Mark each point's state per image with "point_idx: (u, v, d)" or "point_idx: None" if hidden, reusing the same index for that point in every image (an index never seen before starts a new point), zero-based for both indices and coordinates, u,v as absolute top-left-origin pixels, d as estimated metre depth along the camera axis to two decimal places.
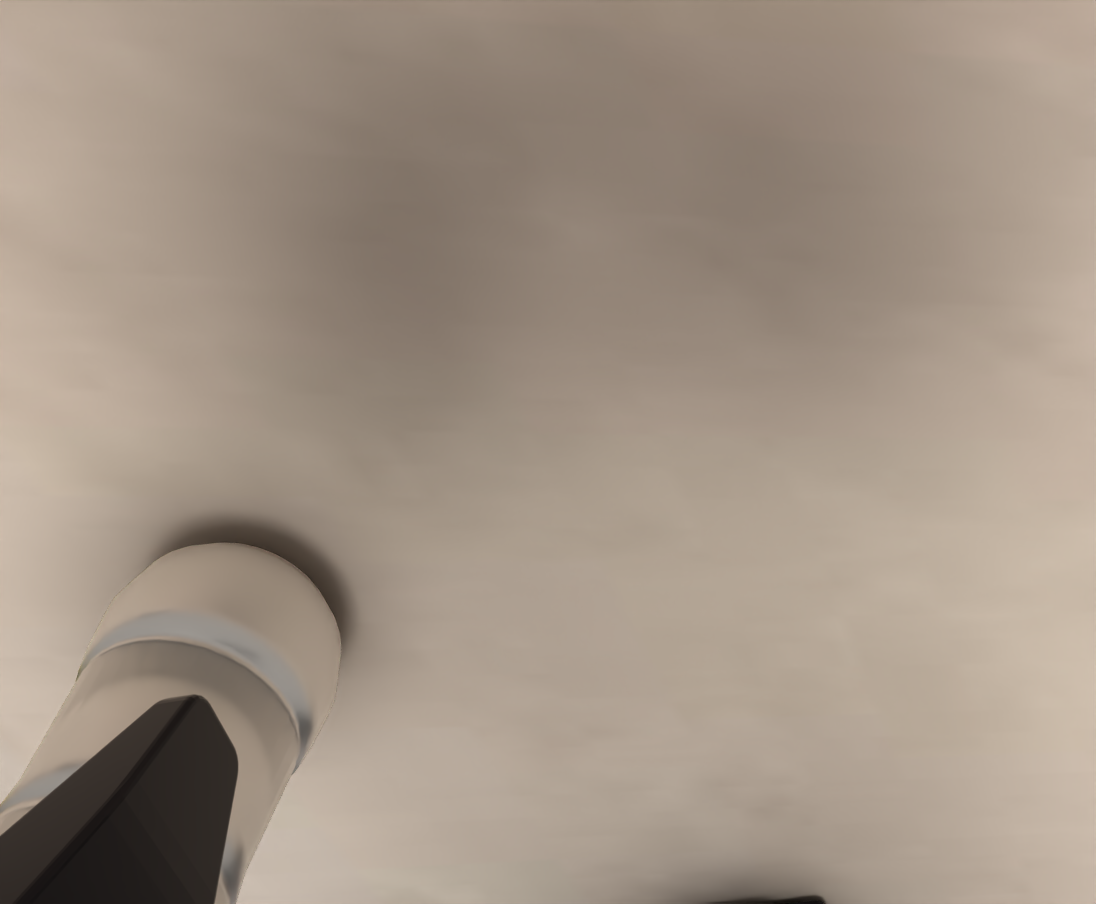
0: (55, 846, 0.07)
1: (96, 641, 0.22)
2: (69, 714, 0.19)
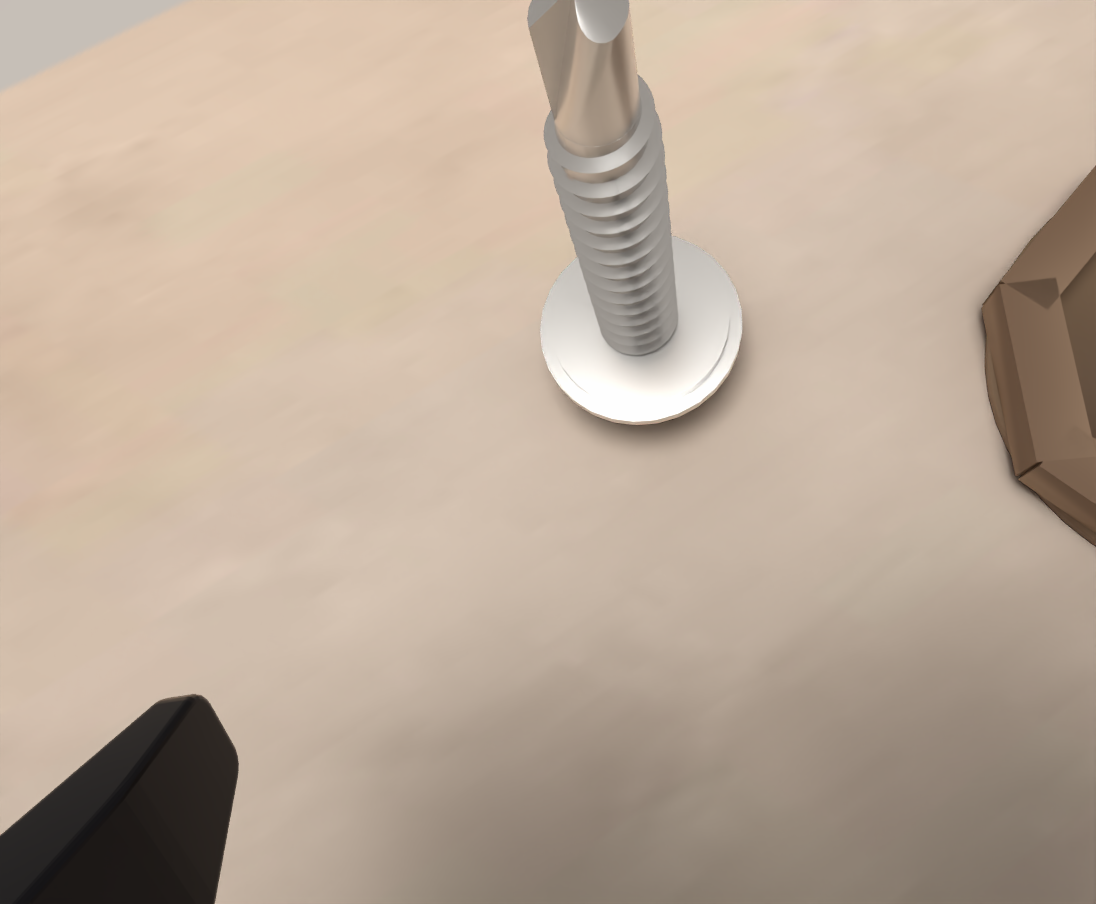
0: (56, 846, 0.07)
1: None
2: None
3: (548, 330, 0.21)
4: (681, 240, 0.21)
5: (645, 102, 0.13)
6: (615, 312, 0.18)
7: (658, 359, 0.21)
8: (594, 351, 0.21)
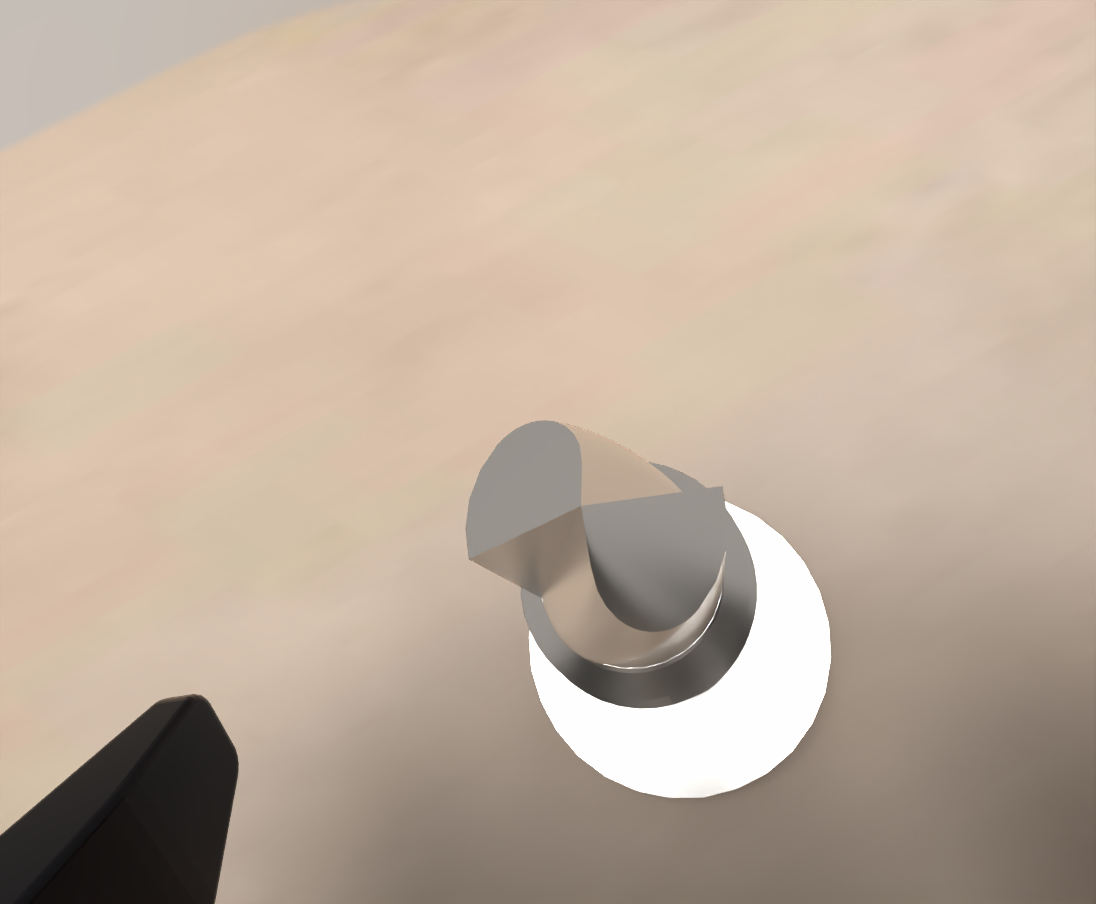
0: (56, 846, 0.07)
1: None
2: None
3: None
4: (735, 508, 0.15)
5: (731, 563, 0.06)
6: None
7: (705, 705, 0.14)
8: None
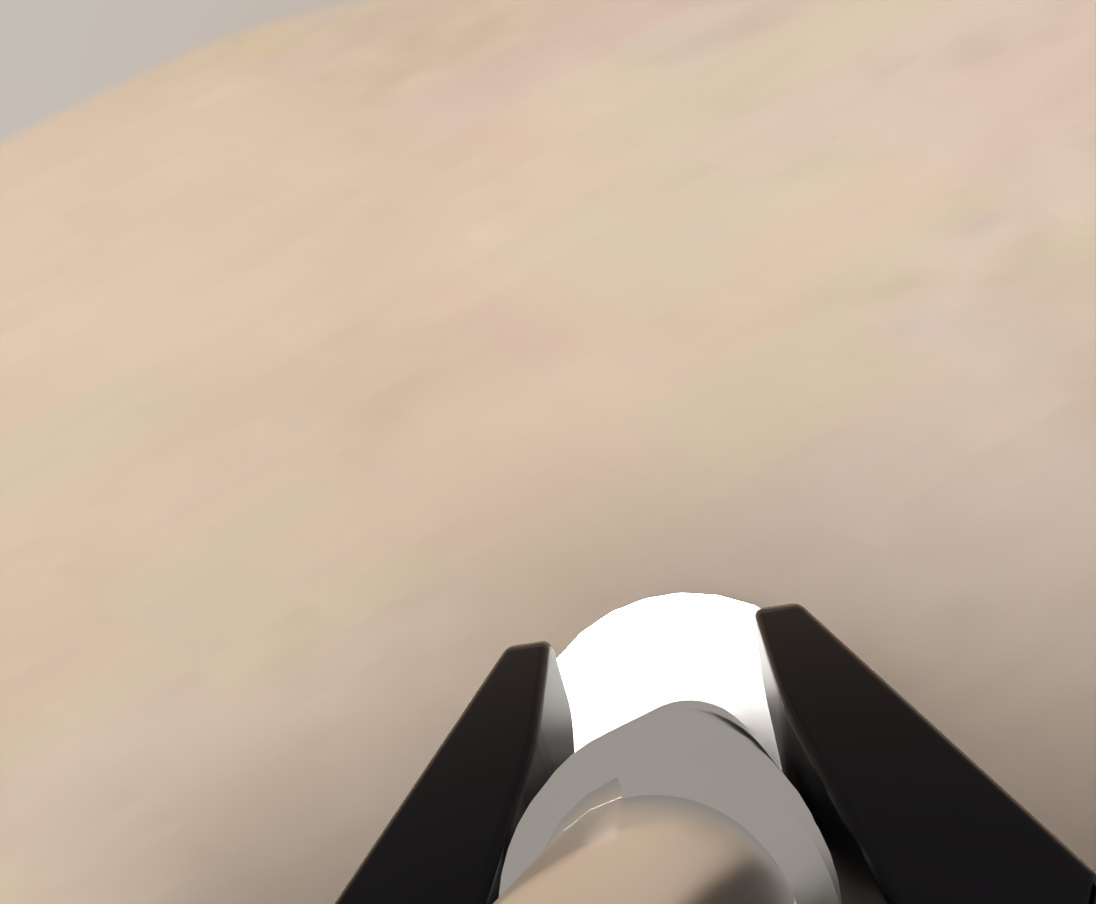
0: (497, 789, 0.06)
1: None
2: None
3: None
4: None
5: None
6: None
7: None
8: None
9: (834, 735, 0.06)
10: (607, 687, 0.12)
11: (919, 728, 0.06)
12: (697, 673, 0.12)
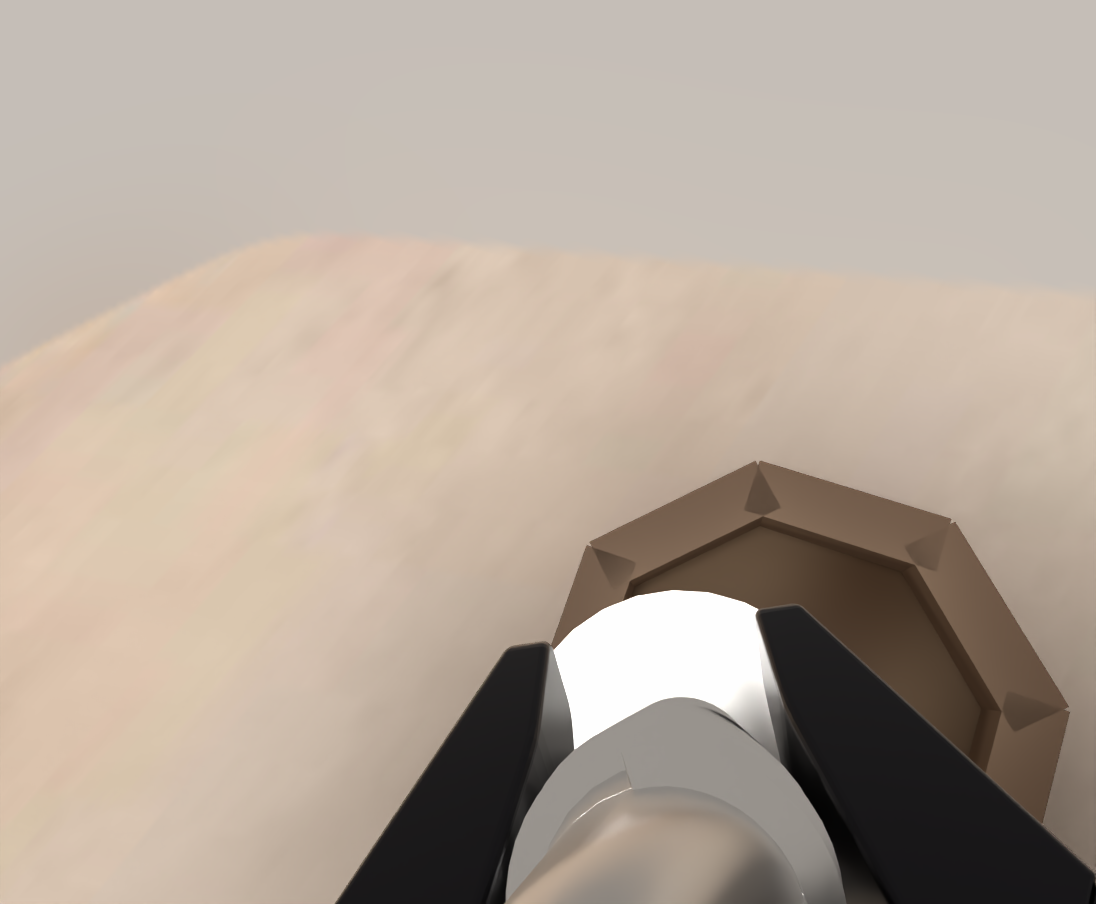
0: (497, 789, 0.06)
1: None
2: None
3: None
4: (753, 610, 0.13)
5: None
6: None
7: None
8: None
9: (834, 735, 0.06)
10: (599, 684, 0.12)
11: (920, 728, 0.06)
12: (689, 670, 0.12)
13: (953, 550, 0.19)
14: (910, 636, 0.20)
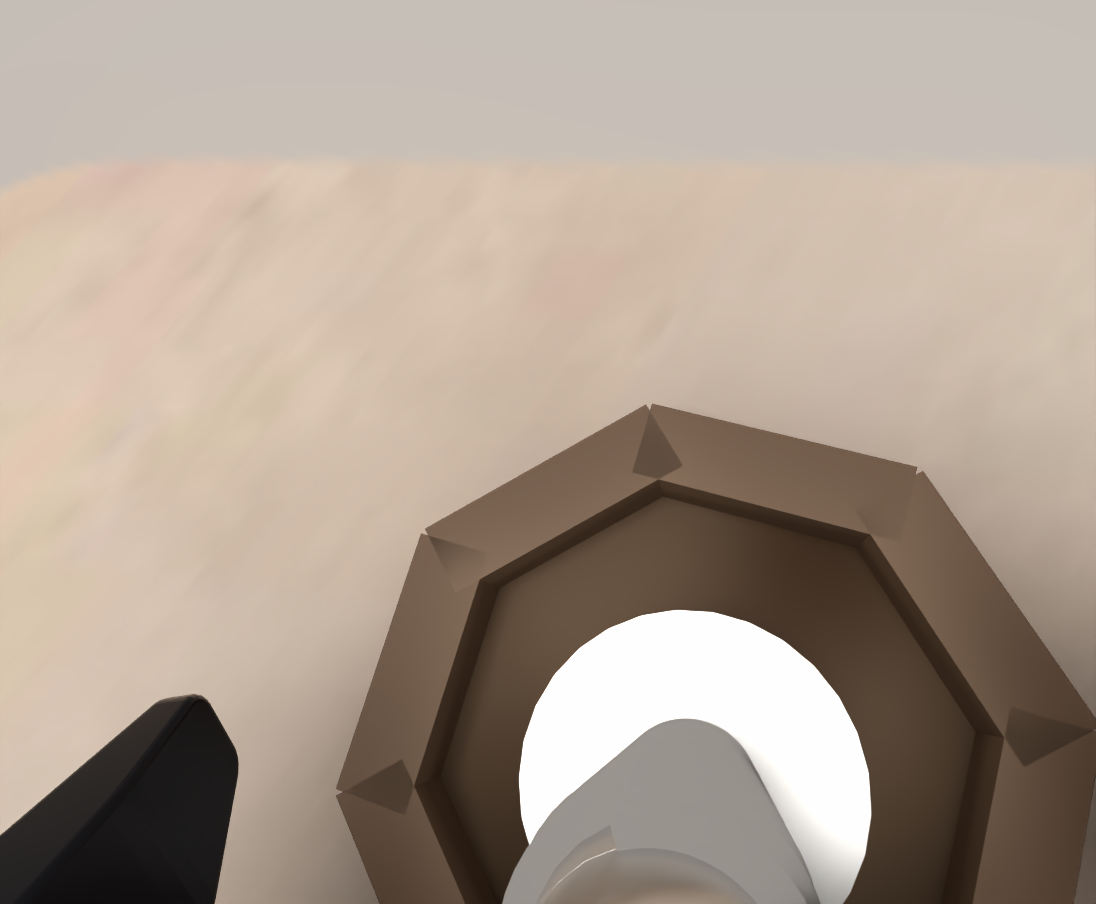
0: (55, 846, 0.07)
1: None
2: None
3: (533, 784, 0.13)
4: (758, 630, 0.13)
5: None
6: None
7: None
8: None
9: None
10: (604, 704, 0.12)
11: None
12: (693, 690, 0.12)
13: (922, 511, 0.13)
14: (872, 635, 0.14)
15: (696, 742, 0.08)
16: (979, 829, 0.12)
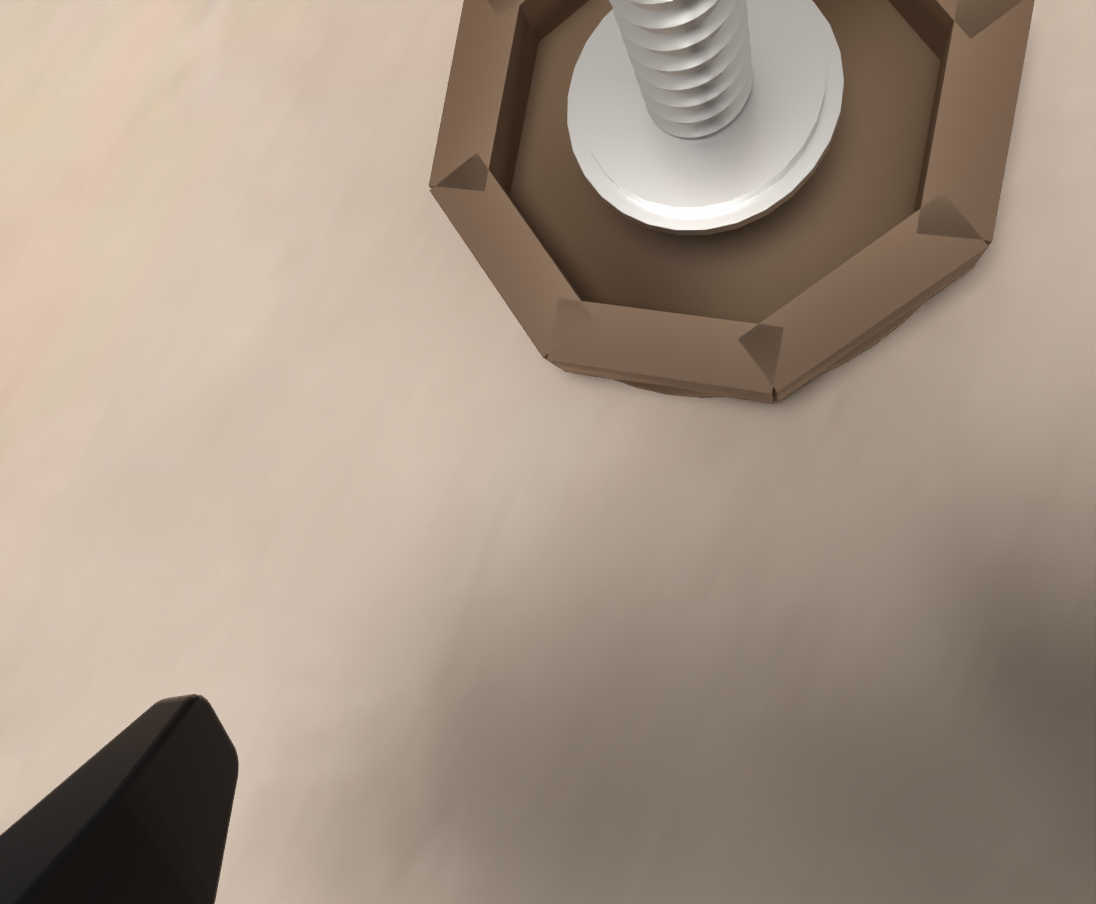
0: (56, 846, 0.07)
1: None
2: None
3: (578, 123, 0.16)
4: None
5: None
6: (667, 67, 0.13)
7: (731, 138, 0.15)
8: (642, 141, 0.15)
9: None
10: None
11: None
12: None
13: None
14: (851, 5, 0.17)
15: None
16: (938, 102, 0.15)
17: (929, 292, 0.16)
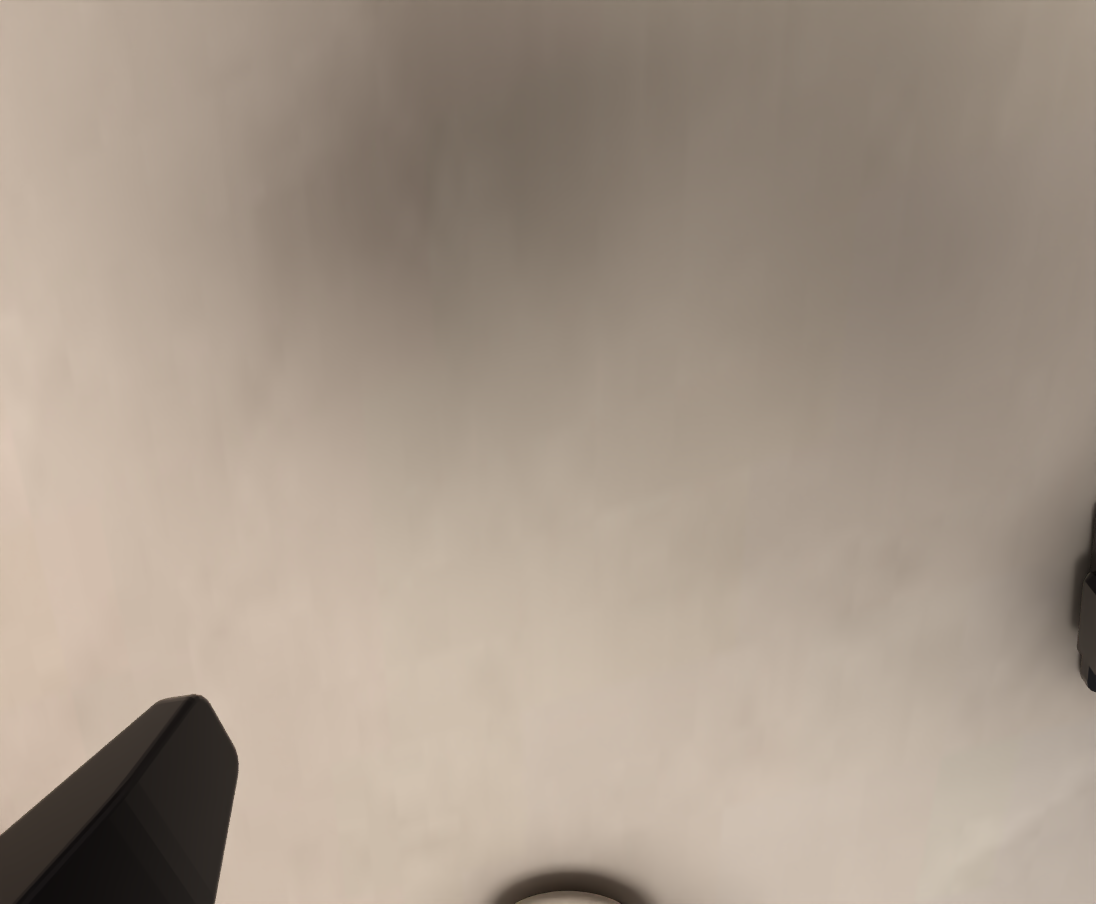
0: (55, 846, 0.07)
1: None
2: None
3: None
4: None
5: None
6: None
7: None
8: None
9: None
10: None
11: None
12: None
13: None
14: None
15: None
16: None
17: None
